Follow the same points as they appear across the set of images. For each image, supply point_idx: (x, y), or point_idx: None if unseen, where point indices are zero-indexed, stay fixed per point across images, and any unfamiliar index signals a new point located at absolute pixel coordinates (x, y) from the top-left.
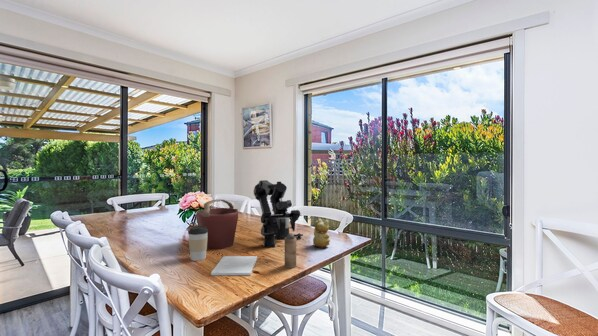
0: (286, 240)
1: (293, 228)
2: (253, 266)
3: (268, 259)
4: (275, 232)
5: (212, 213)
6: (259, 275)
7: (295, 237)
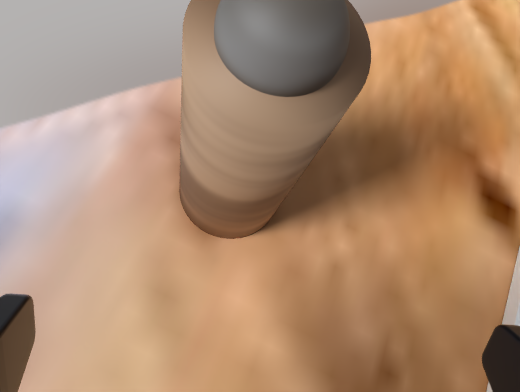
0: (354, 25)
1: (15, 319)
2: (516, 290)
3: None
4: (495, 337)
5: None
6: (483, 141)
7: (184, 36)
